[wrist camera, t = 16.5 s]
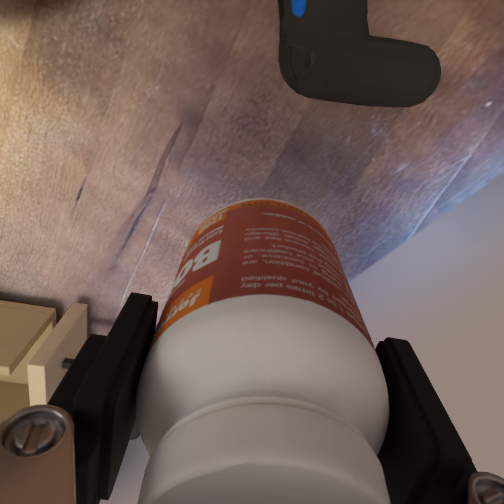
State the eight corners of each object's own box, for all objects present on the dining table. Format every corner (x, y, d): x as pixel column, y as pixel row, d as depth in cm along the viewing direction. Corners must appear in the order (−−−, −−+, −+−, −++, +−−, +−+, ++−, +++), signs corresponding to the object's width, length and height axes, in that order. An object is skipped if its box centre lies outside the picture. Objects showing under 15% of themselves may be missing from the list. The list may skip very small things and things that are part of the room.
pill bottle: (203, 174, 16) (107, 380, 6) (357, 215, 16) (518, 467, 6) (173, 309, 18) (68, 618, 8) (306, 340, 19) (364, 663, 9)
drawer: (161, 315, 35) (137, 380, 28) (152, 404, 40) (129, 480, 33) (-66, 280, 34) (-150, 339, 27) (-49, 376, 39) (-118, 448, 32)
